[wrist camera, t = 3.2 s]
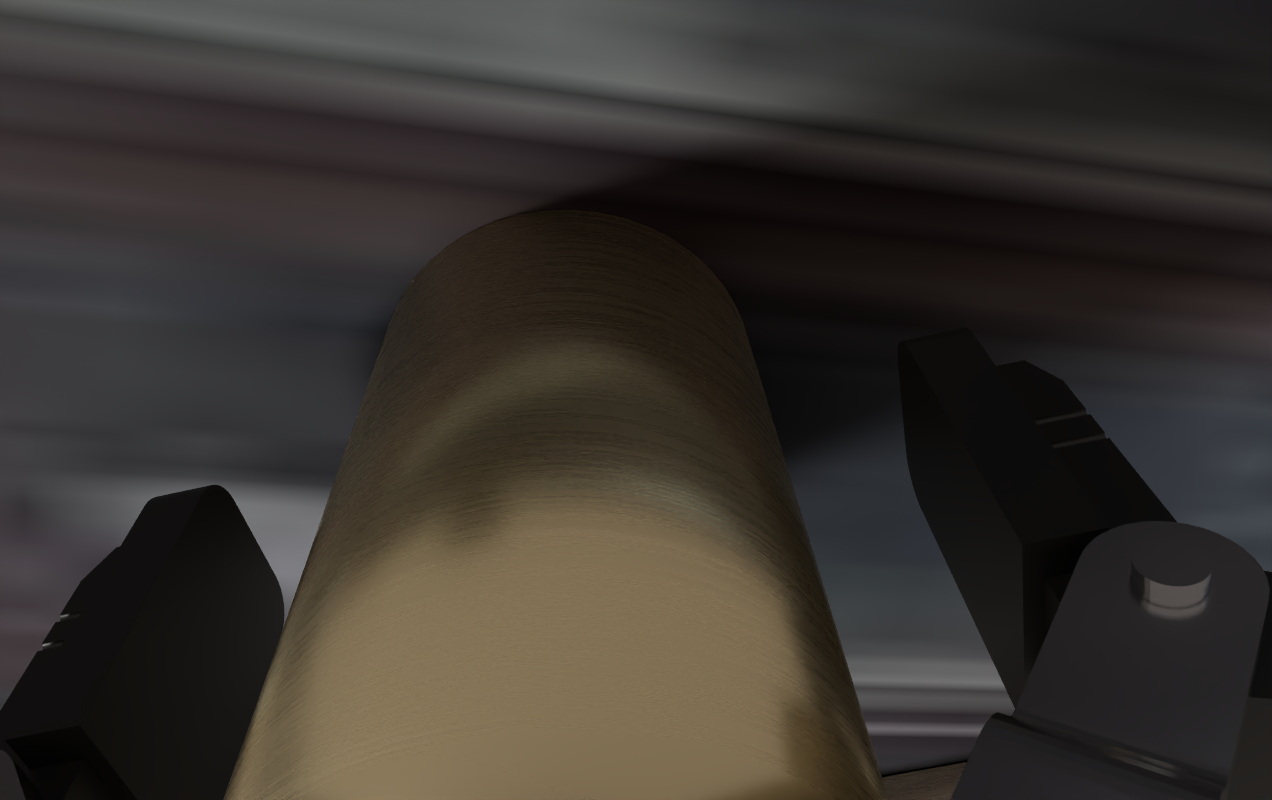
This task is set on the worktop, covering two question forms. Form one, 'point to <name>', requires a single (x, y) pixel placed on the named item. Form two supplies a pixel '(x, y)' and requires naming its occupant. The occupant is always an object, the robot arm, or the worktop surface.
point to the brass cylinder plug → (561, 552)
